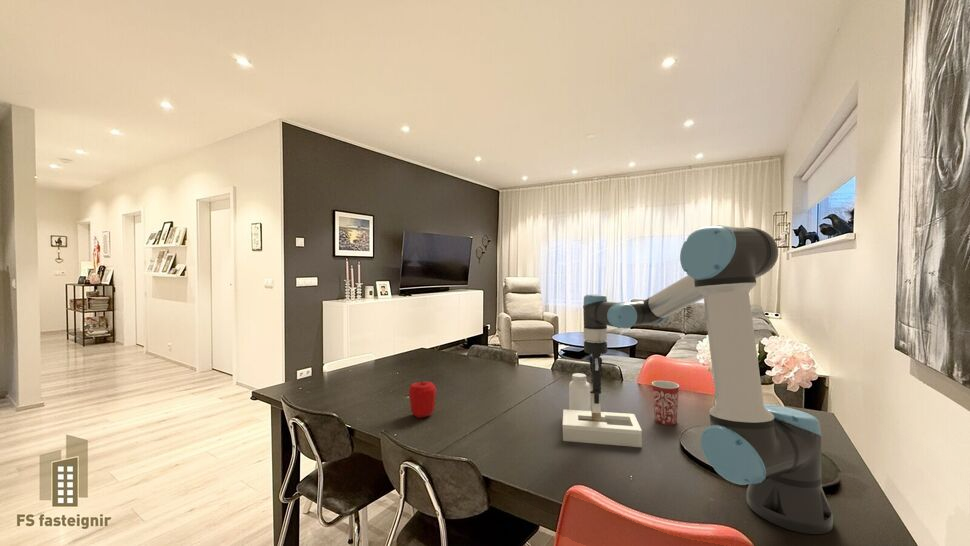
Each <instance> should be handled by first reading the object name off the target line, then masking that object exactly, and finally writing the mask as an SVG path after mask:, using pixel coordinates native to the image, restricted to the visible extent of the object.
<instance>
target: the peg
mask: <svg viewBox="0 0 970 546" xmlns="http://www.w3.org/2000/svg"><path fill="white" fill-rule="evenodd" d="M592 390H593V387H592V383H591V382H590V391H592ZM590 402H592V393H590ZM592 421H596V422H601V413H592Z"/></svg>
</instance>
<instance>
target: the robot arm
mask: <svg viewBox="0 0 970 546" xmlns="http://www.w3.org/2000/svg"><path fill="white" fill-rule="evenodd" d="M778 258H779V247H778V244H777V242H776V240H775V238H774V237H773V236H772V235H770V233H768V232H767V231H765V230H762V229H759V228H756V227H742V226H740V227H739V226H728V225H727V226H726V225H719V224H718V225H713V226H703V227H700V228H697V229H696V230H695V231H693V232H692V233H690V234H689V235H688V237H687V239H686V240H685V241H684V242H683V244H682V245H681V249H680V254H679V260H680V266H681V268H682V269H683V272H685V273H686V276H684V277H683V278H680V279H679V280H677V281H676V282H674V283H672V284H670V285H669V286H667V287H664V288H663V289H661V290H660V291H658V292H656V293H655V294H653V295H651V296H650V297H648V298H646V299H644V300H639V301H623V302H615V301H614V302H613V301H608V298H607V295H605V294H598V293H597V294H595V293H594V294H586V295H585V296H583V305H582V309H583V310H582V311H583V340H584V341H583V352H584V353H586V354H590V355H591V356H589V357H588V358H589V360H588V362H589V369H590V373H591V374H590V377H591V378H590V384H591V383H592V387H593V390H592V391H591V390H590V394H591V393H592V401H591V411H592V413H601V412H602V403H601V402H602V401H601V400H602V397H601V395H602V382H601V381H602V380H601V379H602V371H603V369H602V365H603V359H602V357H601V355H605V354H607V353H608V342H607V340H608V335H609V334H610V332H609V330H608V327H613V328H617V329H626V330H627V329H630V328H632V327H635V326H645V325H657V324H661V323H662V324H663V323H664V322H666V320H667V319H668V317H669V316H671V315H673V314H674V313H677V312H679V311H681V310H683V309H685V308H687V307H690V306H692V305H694V304H695V303H698V302H701V300H703V301H704V302H703V304H704V311H705V313H704V314H705V320H706V328H707V338H708V344H709V345H708V347H709V352H710V355H709V356H710V362H711V370H712V378H713V387H714V395H715V404H714V405H713V406H712V407H710V409H709V413H708V414H709V421H710V425H708V426H706V428H705V429H704V430H703V431H702V433H701V435H700V447H701V450H702V453H703V455H704V458H705V459H706V461H707V463H708V464H709V465H710V466H711V467H712V468H713V469H714V471H715V472H716V473H717V474H718V475H719V476H720V477H722V478H723V479H725V480H726V481H728V482H730V483H733V484H736V485H741V486H747V485H748V487H747V488H746V503H747V505H748V507H749V508H750V510H752V511H753V512H754V513H755V514H756V515H757V516H759V517H760V518H762V519H764V520H765V521H768V522H769V523H771V524H774V525H776V526H778V527H780V528H784V529H785V530H789V531H793V532H797V533H800V534H806V535H809V534H810V535H823V534H827V533H829V532H831V531H832V530H833V528H834V526H833V525H834V522H833V521H834V517H833V513H832V510H831V508H830V504H829V503H828V499H827V497H826V494H825V492H824V490H823V487H822V437H823V434H822V431H821V422H820V420H819V419H818V418H816V416H814V415H812V414H811V413H807V412H805V411H802V410H798V409H795V408H791V407H787V406H782V405H778V404H770V403H764V396H763V390H762V389H763V388H762V382H761V381H762V379H761V375H760V367H759V366H760V365H759V359H758V349H757V343H756V336H755V335H756V334H755V328H754V321H753V314H752V305H751V298H750V292H751V290H752V289H754V287H756V285H757V279H758V278H760V277H762V276H763V275H765V274H767V273H768V272H770V271H771V269H773V268H774V266H775V265H776V264H777V261H778Z"/></svg>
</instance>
